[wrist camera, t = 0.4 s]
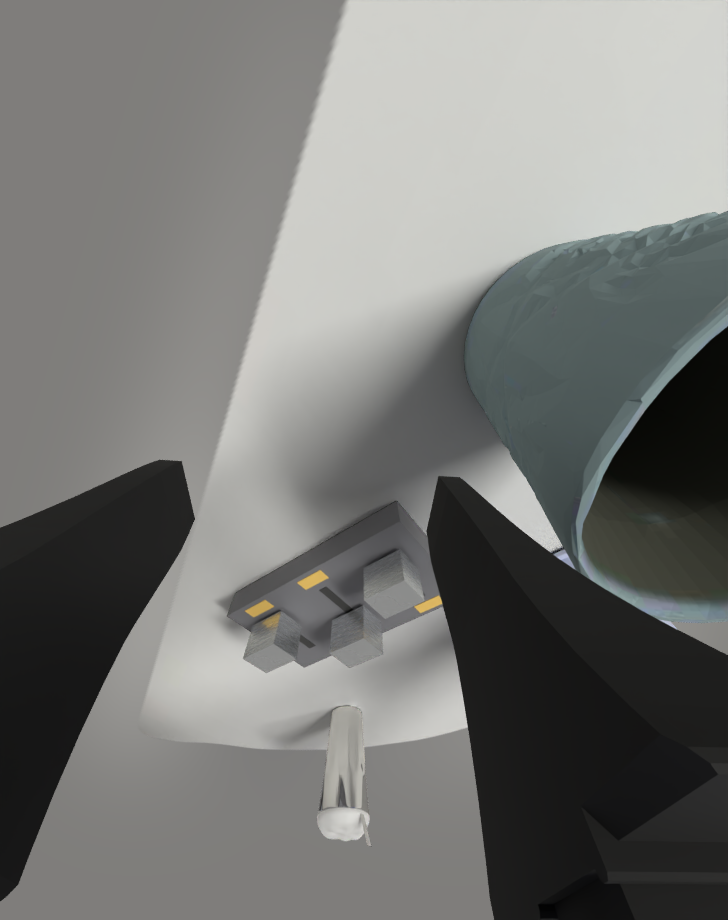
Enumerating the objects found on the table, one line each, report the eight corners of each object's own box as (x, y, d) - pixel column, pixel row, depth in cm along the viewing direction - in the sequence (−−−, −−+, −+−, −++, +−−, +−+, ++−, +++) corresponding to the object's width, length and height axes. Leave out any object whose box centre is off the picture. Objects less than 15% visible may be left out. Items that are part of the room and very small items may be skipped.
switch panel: (458, 573, 25) (465, 596, 24) (307, 644, 30) (304, 668, 28) (396, 500, 22) (400, 521, 20) (235, 592, 26) (226, 616, 24)
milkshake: (382, 710, 36) (389, 851, 27) (346, 726, 38) (342, 864, 29) (352, 694, 34) (349, 840, 26) (316, 712, 36) (302, 854, 27)
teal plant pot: (636, 170, 14) (1520, -131, 3) (669, 379, 18) (1089, 536, 8) (413, 313, 16) (508, 399, 6) (489, 465, 21) (620, 669, 10)
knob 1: (301, 626, 25) (296, 659, 23) (274, 639, 25) (266, 672, 23) (281, 610, 24) (273, 643, 22) (252, 625, 25) (243, 658, 22)
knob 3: (418, 568, 22) (424, 601, 20) (382, 586, 23) (385, 618, 20) (399, 549, 21) (404, 580, 19) (363, 567, 22) (364, 600, 20)
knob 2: (381, 620, 24) (383, 654, 22) (350, 634, 25) (349, 667, 23) (363, 605, 24) (363, 638, 21) (332, 620, 24) (329, 653, 22)
